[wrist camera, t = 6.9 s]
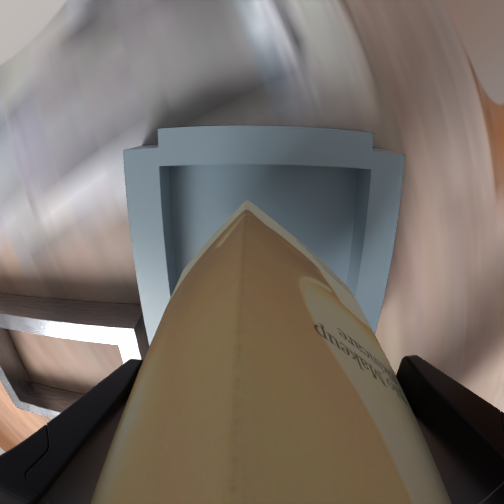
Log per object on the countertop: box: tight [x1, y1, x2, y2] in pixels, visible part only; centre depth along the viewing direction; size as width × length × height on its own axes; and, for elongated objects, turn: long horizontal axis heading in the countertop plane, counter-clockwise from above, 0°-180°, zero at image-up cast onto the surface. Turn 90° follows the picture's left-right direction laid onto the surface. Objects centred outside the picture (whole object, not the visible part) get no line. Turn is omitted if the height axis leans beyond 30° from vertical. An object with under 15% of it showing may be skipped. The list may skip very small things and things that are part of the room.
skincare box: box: [90, 200, 451, 504], centre depth 8 cm, size 6×4×12 cm
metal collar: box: [0, 293, 149, 418], centre depth 19 cm, size 14×10×2 cm
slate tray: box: [123, 125, 405, 346], centre depth 16 cm, size 12×12×2 cm
